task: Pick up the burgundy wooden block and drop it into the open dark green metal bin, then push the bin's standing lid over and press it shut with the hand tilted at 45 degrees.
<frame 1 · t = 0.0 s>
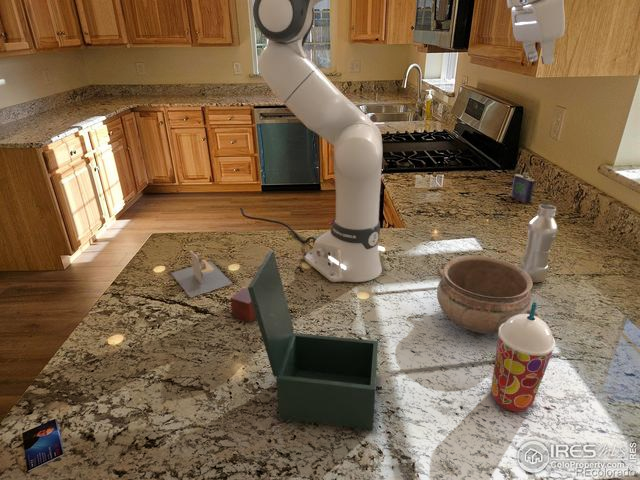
hand: (540, 62, 89), 52 cm above the countertop, tool tilted 20°, fingers open, 8 cm apart
architectural model: (201, 278, 112), on the countertop
block: (248, 313, 98), on the countertop
bin lid: (273, 311, 69), point 17 cm above the countertop, hinge at 100.0°
bin: (330, 397, 75), on the countertop
plastic bottle: (530, 279, 110), on the countertop
smoothie: (510, 400, 74), on the countertop
flask: (520, 200, 163), on the countertop
cooking pot: (477, 323, 94), on the countertop
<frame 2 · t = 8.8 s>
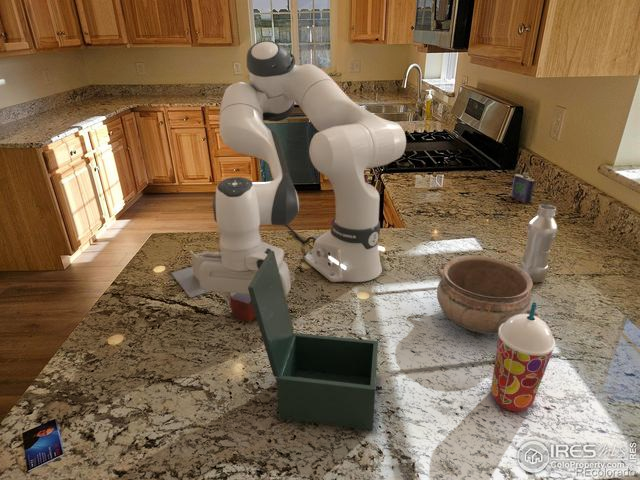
hand: (247, 307, 97), 2 cm above the countertop, tool pointing down, fingers closed on block, 6 cm apart
block: (247, 313, 98), on the countertop, touching gripper
everything else where it was.
when the fingers open (9 cm above the countertop, at t = 18.2 s): block drops 7 cm, resting on bin.
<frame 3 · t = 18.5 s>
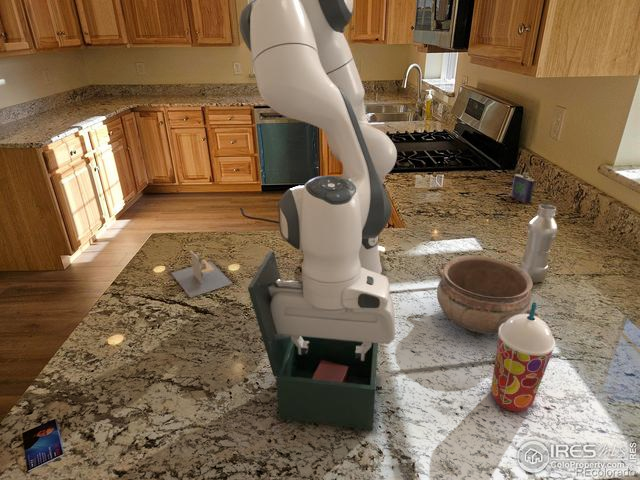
hand: (331, 355, 71), 10 cm above the countertop, tool pointing down, fingers open, 8 cm apart
block: (330, 394, 74), point 1 cm above the countertop, touching bin
everything else where it was.
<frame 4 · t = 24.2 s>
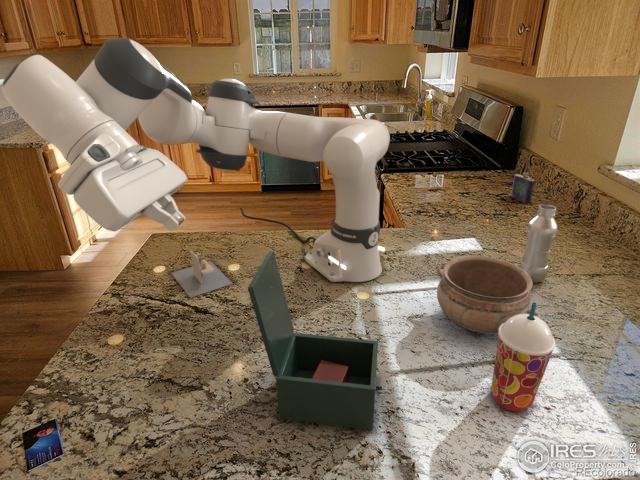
hand: (179, 225, 65), 32 cm above the countertop, tool tilted 45°, fingers closed
nothing on the countertop moved.
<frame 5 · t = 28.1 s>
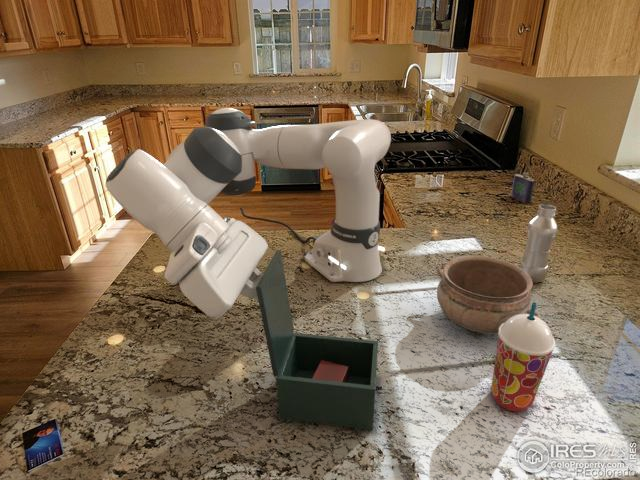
hand: (268, 297, 68), 20 cm above the countertop, tool tilted 45°, fingers closed, pressing on bin lid
bin lid: (277, 311, 69), point 17 cm above the countertop, hinge at 95.7°, touching gripper
everything else where it was.
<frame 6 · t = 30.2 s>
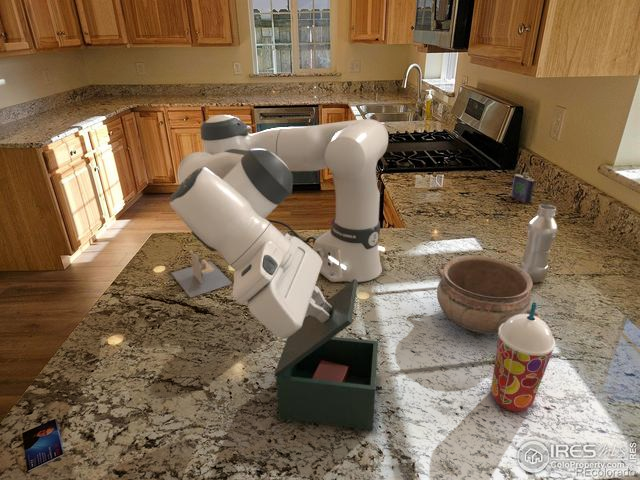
hand: (327, 315, 67), 18 cm above the countertop, tool tilted 45°, fingers closed, pressing on bin lid
bin lid: (317, 326, 69), point 15 cm above the countertop, hinge at 45.8°, touching gripper
everything else where it was.
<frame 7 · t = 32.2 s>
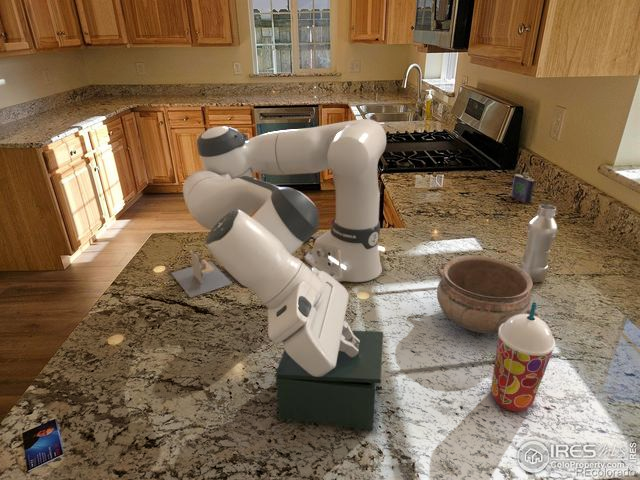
hand: (356, 349, 69), 11 cm above the countertop, tool tilted 45°, fingers closed, pressing on bin lid
bin lid: (332, 353, 70), point 10 cm above the countertop, hinge at 4.6°, touching gripper
everything else where it was.
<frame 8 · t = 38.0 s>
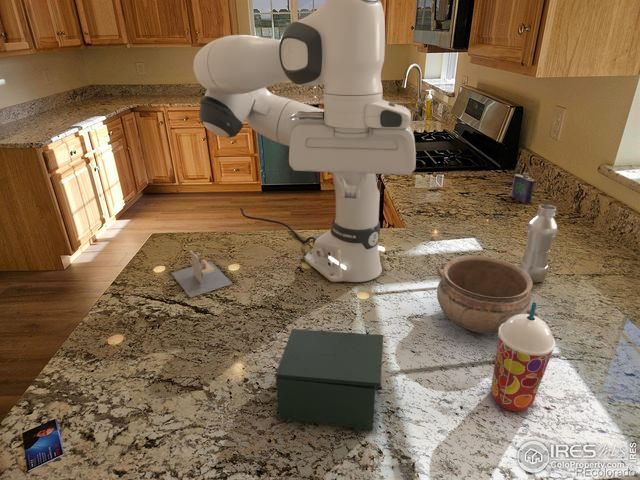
hand: (350, 197, 71), 33 cm above the countertop, tool pointing down, fingers closed
bin lid: (332, 355, 71), point 10 cm above the countertop, hinge at 1.9°
everything else where it was.
at the end: block inside the target area in the bin (0.1 cm from its centre), point 0.8 cm above the bin's base; bin lid at +2° (first picture: +100°) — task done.
